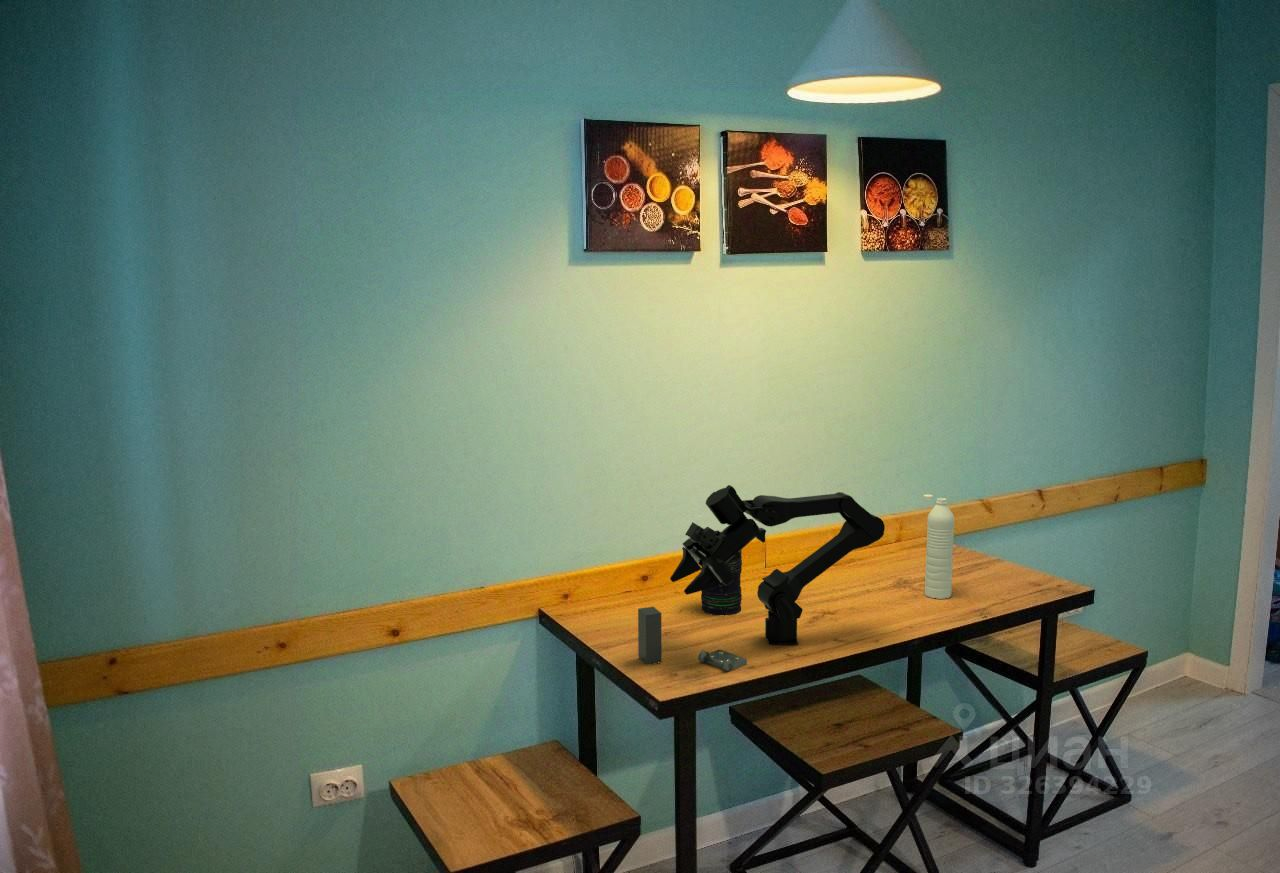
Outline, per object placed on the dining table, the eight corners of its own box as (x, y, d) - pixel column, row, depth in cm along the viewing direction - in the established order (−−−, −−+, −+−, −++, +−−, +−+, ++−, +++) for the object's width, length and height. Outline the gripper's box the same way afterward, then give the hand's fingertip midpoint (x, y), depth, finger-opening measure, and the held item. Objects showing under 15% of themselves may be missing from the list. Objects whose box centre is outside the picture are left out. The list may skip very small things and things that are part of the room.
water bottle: (956, 596, 270) (961, 498, 266) (939, 601, 266) (943, 502, 262) (929, 587, 277) (933, 492, 273) (912, 592, 273) (915, 496, 269)
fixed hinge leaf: (719, 654, 232) (719, 644, 231) (746, 664, 226) (746, 653, 226) (698, 663, 227) (698, 652, 227) (725, 672, 222) (725, 661, 221)
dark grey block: (653, 655, 232) (653, 606, 230) (661, 662, 227) (661, 613, 226) (638, 657, 230) (638, 608, 228) (646, 665, 226) (645, 615, 224)
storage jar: (739, 617, 256) (739, 556, 253) (698, 614, 258) (698, 554, 255) (743, 604, 265) (744, 545, 263) (704, 601, 267) (704, 543, 265)
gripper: (697, 502, 239) (643, 548, 237) (727, 522, 221) (670, 571, 219) (724, 539, 242) (672, 584, 240) (757, 561, 225) (701, 610, 223)
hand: (678, 586), depth 231 cm, fingers open, 9 cm apart
